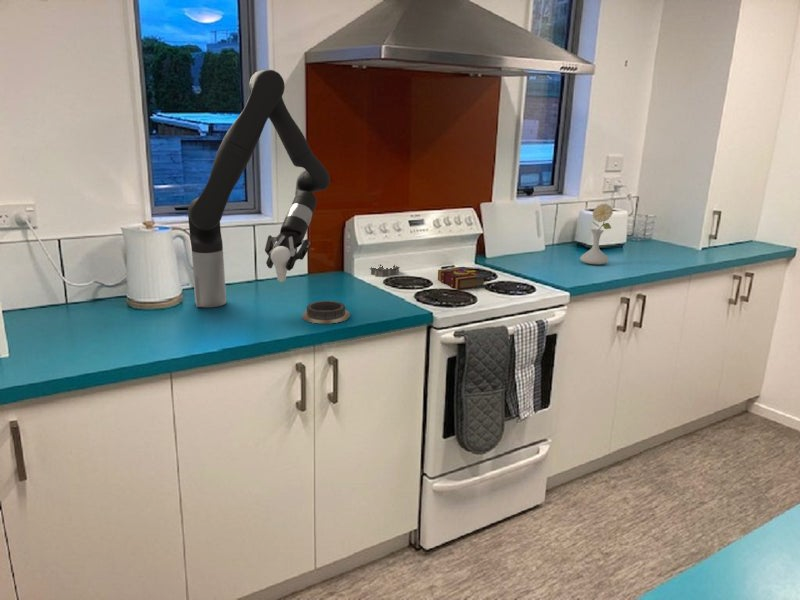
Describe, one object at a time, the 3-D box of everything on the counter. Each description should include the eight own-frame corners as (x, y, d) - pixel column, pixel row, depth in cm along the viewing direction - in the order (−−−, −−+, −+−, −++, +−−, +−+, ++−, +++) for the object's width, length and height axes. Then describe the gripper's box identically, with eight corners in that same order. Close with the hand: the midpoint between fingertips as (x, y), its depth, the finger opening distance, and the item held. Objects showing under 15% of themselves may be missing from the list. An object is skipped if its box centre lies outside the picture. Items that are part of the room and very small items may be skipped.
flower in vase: (573, 261, 266) (579, 201, 259) (595, 259, 271) (601, 200, 264) (595, 268, 255) (601, 205, 248) (617, 266, 259) (624, 204, 252)
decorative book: (457, 291, 220) (458, 277, 219) (435, 280, 234) (435, 267, 233) (485, 288, 225) (486, 274, 224) (462, 277, 239) (462, 264, 238)
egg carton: (392, 270, 248) (392, 260, 246) (401, 275, 241) (402, 264, 240) (367, 273, 242) (367, 263, 241) (376, 278, 236) (376, 267, 235)
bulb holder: (308, 326, 182) (307, 315, 181) (297, 312, 195) (297, 301, 194) (355, 321, 187) (355, 310, 186) (342, 307, 199) (342, 297, 198)
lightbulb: (267, 282, 191) (266, 246, 188) (279, 278, 196) (279, 243, 193) (283, 285, 188) (282, 249, 185) (296, 281, 194) (295, 245, 191)
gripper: (271, 212, 196) (252, 258, 188) (314, 216, 192) (295, 263, 184) (280, 227, 202) (262, 272, 195) (321, 231, 198) (304, 277, 190)
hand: (278, 267), depth 189 cm, fingers closed on lightbulb, 5 cm apart
